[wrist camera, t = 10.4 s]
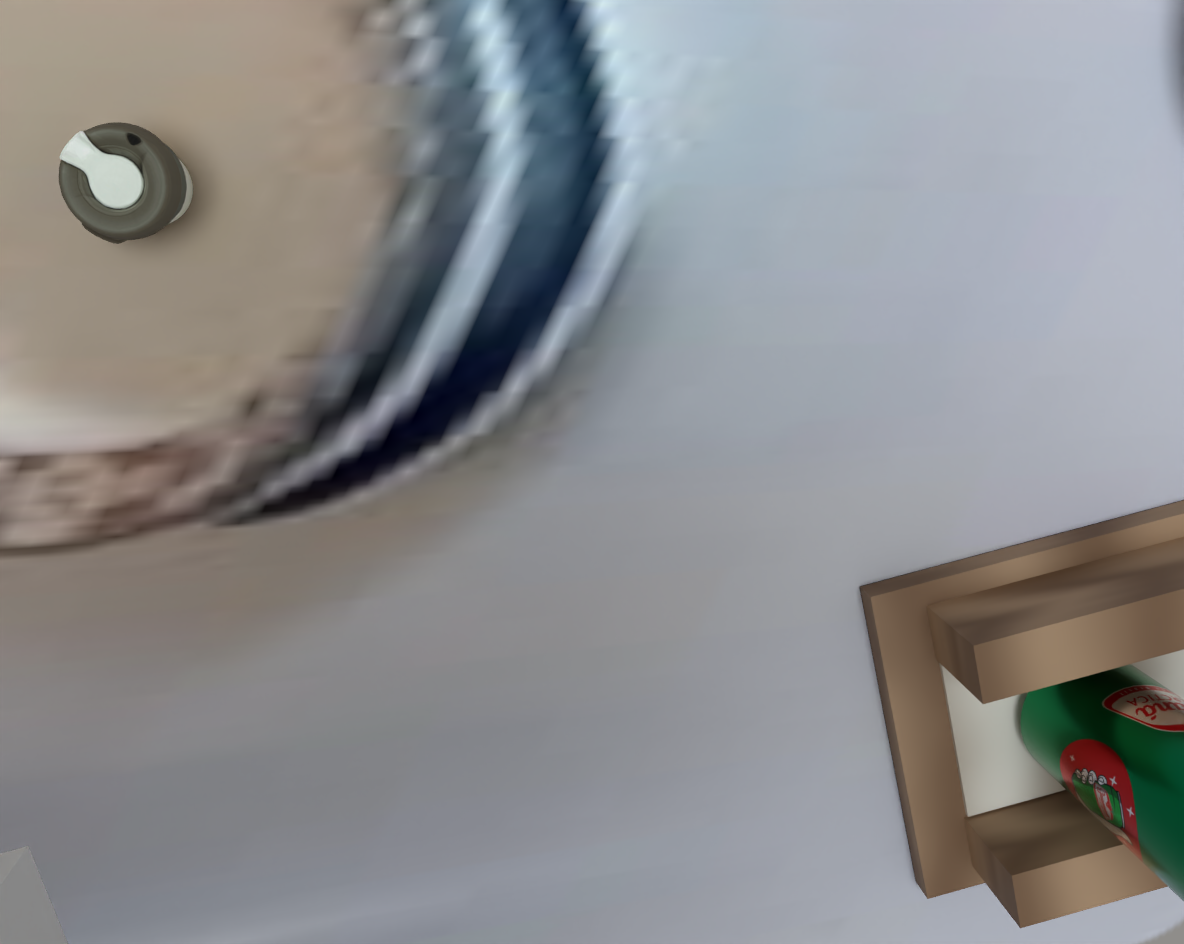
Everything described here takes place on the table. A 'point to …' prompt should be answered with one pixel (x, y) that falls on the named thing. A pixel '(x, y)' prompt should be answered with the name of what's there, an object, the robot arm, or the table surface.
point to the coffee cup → (123, 182)
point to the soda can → (1118, 758)
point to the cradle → (1020, 703)
